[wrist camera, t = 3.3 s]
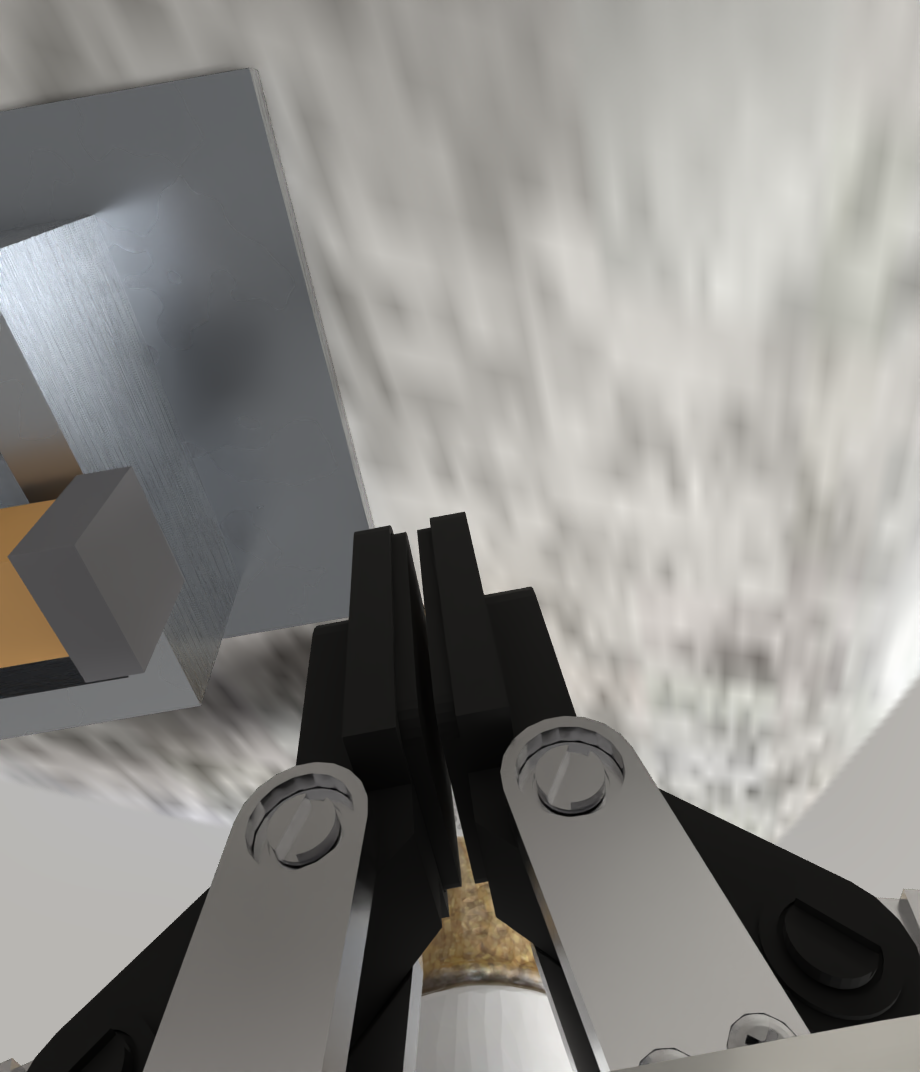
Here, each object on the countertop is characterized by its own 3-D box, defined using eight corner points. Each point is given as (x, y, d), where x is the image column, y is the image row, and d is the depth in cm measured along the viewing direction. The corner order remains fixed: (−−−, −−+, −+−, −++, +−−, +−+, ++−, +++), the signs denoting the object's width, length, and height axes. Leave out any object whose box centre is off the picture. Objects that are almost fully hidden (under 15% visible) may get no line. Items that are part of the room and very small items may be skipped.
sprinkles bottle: (455, 716, 25) (508, 1212, 14) (346, 673, 24) (304, 1194, 12) (527, 633, 23) (654, 1129, 12) (413, 580, 22) (436, 1094, 10)
